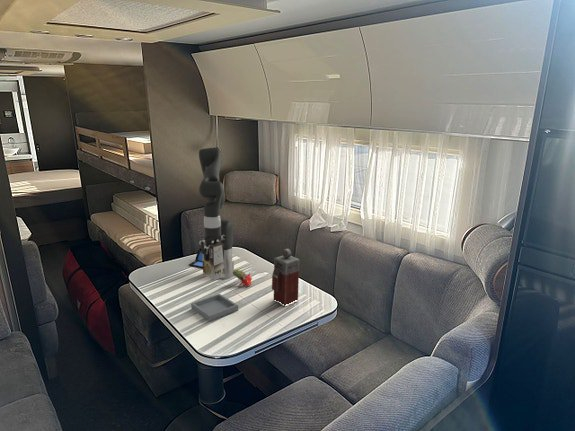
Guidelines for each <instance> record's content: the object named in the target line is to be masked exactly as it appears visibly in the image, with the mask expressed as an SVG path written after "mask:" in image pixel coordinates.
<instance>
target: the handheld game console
mask: <svg viewBox="0 0 575 431" xmlns="http://www.w3.org/2000/svg"><path fill="white" fill-rule="evenodd" d="M188 265H189V266H190V267H192V268H193V267H194V268H198V269H202V270H203V260H202V253H200V252H199V249H198V250H197V252H196V256H195V259H194V261H192V262H190V263H189V264H188Z"/></svg>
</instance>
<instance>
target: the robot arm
mask: <svg viewBox="0 0 575 431" xmlns="http://www.w3.org/2000/svg"><path fill="white" fill-rule="evenodd" d="M198 159H199V163H200V166H201V171H202V175H203V179H202V181H201V182H200V184H199V188H198V192H199V194H200V196H201V197H203V198H207V202H205V203H204V206H203V210H204V213H203V215H204V216H203V231H204V232H203V234H204V239H202V240H201V239H200V240H198V250H199V252H200V253H202V254H204V260H205V261H206V262H208V261H209V256H208V252H209V247H206V245H205V244H204V243H206V244H207V245H209V246H211V245H213V244H215V243H223V244H224V272H225V276H224V277H222V278H219V279H220V280H227V279H230V278H232V277H233V276H234V274H233V272H234V270H235V261H234V259H233V243H234V223H233V222H232V220H227V219H221V210H222V207H223V205H225V201H226V195H225V188H224V184H223V183H222V182H221V181H220V171H221V167H222V162H223V157H222V151H221V148H219V147H216V146H215V147H207V148H200V149H199V150H198ZM204 245H205V246H204ZM206 248H207V250H206Z"/></svg>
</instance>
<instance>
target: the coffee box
mask: <svg viewBox="0 0 575 431" xmlns="http://www.w3.org/2000/svg"><path fill="white" fill-rule="evenodd" d="M204 244H205V245H206V247H209V252H208V256H209V261H208V262H206V261H205V260H204V254H202V260H203V269H202V275H203V276H205V277H206V278H207V277H208V278H209V279H212V280H214V281H216V280H218V279H220V278H222V277H224V276H225V272H224V244H223V243H215V244H213V245H211V246H209V245H207V244H206V243H204ZM205 245H204V246H205ZM206 250H207V248H206Z"/></svg>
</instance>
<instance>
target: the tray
mask: <svg viewBox="0 0 575 431" xmlns="http://www.w3.org/2000/svg"><path fill="white" fill-rule="evenodd" d="M190 306H191V310H192V311H193V312H195V313H197V314H198V315H199V316H200V317H202V318H203V319H205V320H206V321H208V322H209V323H212V322H213V321H216V320H218V319H219V320H220V319H221V318H223V317H226V316H229V315H232V314H234V313H237V312H239V305H238V304H237V303H236V302H234V301H232V300H230V299H229V298H227V297H226V296H224V295H222V294H221V293H216V294H214V295H211V296H208V297H205V298H203V299H201V300H200V299H199V300H197V301H194V302H191V303H190Z"/></svg>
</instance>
